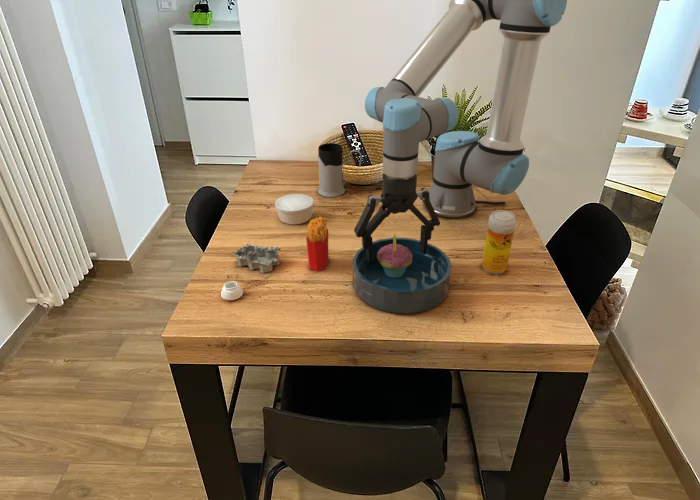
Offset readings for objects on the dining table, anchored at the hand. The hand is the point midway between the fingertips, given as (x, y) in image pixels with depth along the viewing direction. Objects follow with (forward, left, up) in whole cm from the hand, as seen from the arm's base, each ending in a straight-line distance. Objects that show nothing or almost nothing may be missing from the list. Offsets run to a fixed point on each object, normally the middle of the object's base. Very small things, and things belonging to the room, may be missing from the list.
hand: (396, 255), depth 120 cm
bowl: (0, +5, -5) cm, 7 cm away
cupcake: (0, 0, -5) cm, 5 cm away
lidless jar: (+39, -1, -6) cm, 40 cm away
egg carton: (+32, -13, -6) cm, 35 cm away
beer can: (-25, +4, -6) cm, 26 cm away
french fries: (+17, -9, -6) cm, 20 cm away
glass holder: (+2, -50, -6) cm, 51 cm away
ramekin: (+19, -35, -6) cm, 41 cm away
